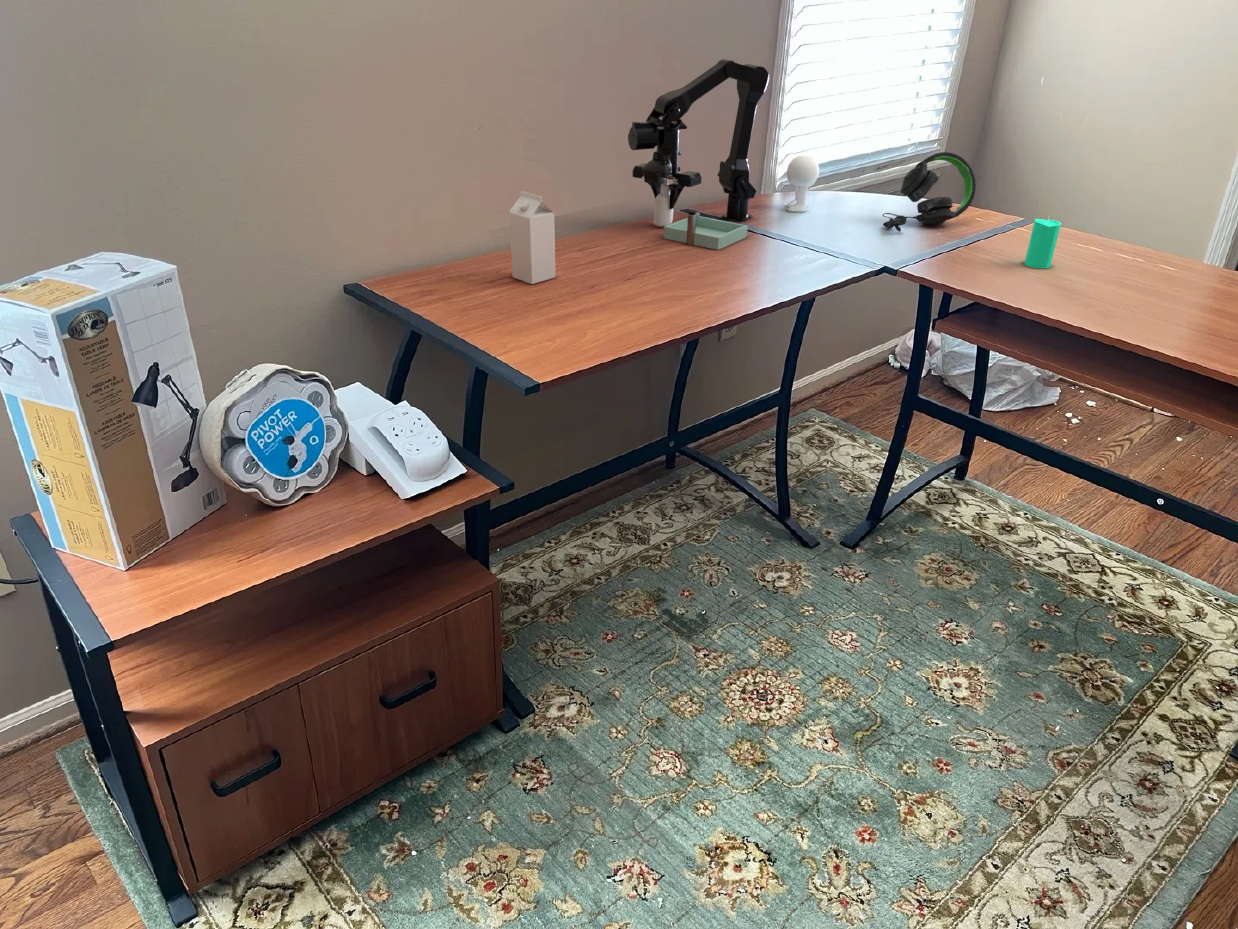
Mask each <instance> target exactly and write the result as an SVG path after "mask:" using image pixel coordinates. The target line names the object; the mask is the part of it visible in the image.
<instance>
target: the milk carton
mask: <svg viewBox="0 0 1238 929" xmlns="http://www.w3.org/2000/svg"><path fill="white" fill-rule="evenodd" d="M508 212H509V214H508V215H509V234H510V235H509V236H510V256H511V275H512V278H514V279H516V280H519V281H522V282H524V283H527V284H529V285H534V284H537V283H541V282H545V281H548V280H551V279H555V278H556V242H555V240H556V239H555V238H556V237H555V235H556V234H555V212H554V211H553V210H552V209H551V208H550V207H548V206H547V205H546V204H545V203H544V202H543V197H542V196H541V195H536V194H534V193H530V192H527V191H523V190H520V197H519V198H518V199H517V200H516V202H515V203H514V205H512V208H511V209H510V210H509V211H508Z"/></svg>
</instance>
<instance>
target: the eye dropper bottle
mask: <svg viewBox="0 0 1238 929" xmlns="http://www.w3.org/2000/svg"><path fill="white" fill-rule="evenodd" d="M668 185H669V182H668V179H665V181H664V184H662V185H661V193H660V194H659V195H657V197H656V198H655V197H654V210H653V225H655V226H656V227H664V226H667V225H669V224H672V223H673V219H674V208H673V209H670V188H669V186H668Z"/></svg>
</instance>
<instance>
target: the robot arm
mask: <svg viewBox="0 0 1238 929" xmlns="http://www.w3.org/2000/svg"><path fill="white" fill-rule="evenodd" d="M728 79H733V80H736V91H737V96H738V105H737V110H736V111H737V112H736V117H735V122H734V127H733V134H732V138H731V143H730V144H731V145H730V148H729V154H728V157H727V158H726V160H725V161H723V160H721V161H720V162H719V170H718V172H717V177H718V183H719V184H720V186H721V187H722V189H723V193H724V194H727V196H728V197H727V206H726V214H723V215H722V216H721V218H722V219H727V220H731V221H736V222H744V221H747V220H749V219H751V218H753V214H749V204H750V199H754V198H755V196H756V193H757V190H756V188H755V187H754V186H753V185H752V183H750V167H749V162H748V155H749V150H750V145H751V139H752V135H753V134H752V133H753V128H754V122H755V118H756V114H757V107H758V103H759V102H760V100H761V99H762V98H763V96H764V94H765V92H766V90H767V86H768V83H769V80H770V74H769V72H768V70H767V68H765V66H761V65H758V64H757V65H756V64H752V63H745V64H741V63H738V62H735V61H734V60H732V59H728V58H722V59H720V60H718V61H717V63H716V64H714V65H713V66H711V67H710V68H709V69H707V70H706V71H704V72H702V73H701V74H700V75H698V76H697V77H695V78H694V79H692V80H691V81H690V82H689V83H686V85H684V86H683V87H680V88H677V89H674V90H670V91H668V92H666V93H664V94H662V95H660V96H658V97H657V98H656V100H655V104H654V107H653V109H652V110H651V112H650V113H649V115H648V116H647V118H646V120H645V121H632V123H631V127H630V128H629V131H628V134H627V141H628V147H629V148H630V149H631V151H640V150H642V151H643V150H654V149H655V148H656V151H653V154H652V159H651V160H649V161H648V162H647V163H645V162H643V163H641V164H637V165H634V166H633V168H632V171H631V172H632V174H631V176H632V178H635V179H642V178H643V181H644V183H647V184H648V185H649V186H650V188H651V190H652V193H653V196H654V199H655V198H656V197H657V195H659V194H660V193H661V185H662V184H664V181H665V180H671V181H672V183H670V184H669V183H668V184H669V185H668V186H669V188H670V209H673V210H674V208H675V206H676V203H677V201H678V199H679V197H680V196H681V193H682V191H683V190H684V188H685V187H686V188H692V187H695V186H698V185H701V184H702V177H703V176H702V175H701V173H700V172H698V171H692V170H688V171H683V172H681V166H679V164H678V163H679V156H682V150H679V148H680V147H679V146H680V144H679V143H680V130H687V129H688V126H687V125H686V124H685V123H684V122H683V120H682V119H681V118H683V117H684V116H685V115H686V114H687V113H688V112H689V110H690V109H691V107H692V105H694V103H695V102H697V101H698V100H699V99H701V98H702V97H704V96H705V95H706V94H708V93H709V92H710V91H711V92H712V90H714V89H715V88H716V87H718V86H719V85H721V84H723V82H725V81H726V80H728Z"/></svg>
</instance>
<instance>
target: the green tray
mask: <svg viewBox="0 0 1238 929" xmlns="http://www.w3.org/2000/svg"><path fill="white" fill-rule="evenodd" d="M687 222H688V217H685V218H682V219H680V220H678V221H675V222H672V223H671V224H669V225H666V226H663V239H665V240H670V241H675V242H679V243H684V244H686V242H687ZM748 228H749V227H748V225H747V224H742V223H736V222H731V221H727V220H721V219H717V218H713V217H705V216H702V215H700V216H699V217H697V218H696V232H695V233H694V245H693V246H698V247H702V248H706V249H711V250H715V251H716V250H717V251H719V250H722V249H723V248H726V247H728V246H730V245H732V244H734V243H737V242H739V241H742V240H744V239H746V238H748Z"/></svg>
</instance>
